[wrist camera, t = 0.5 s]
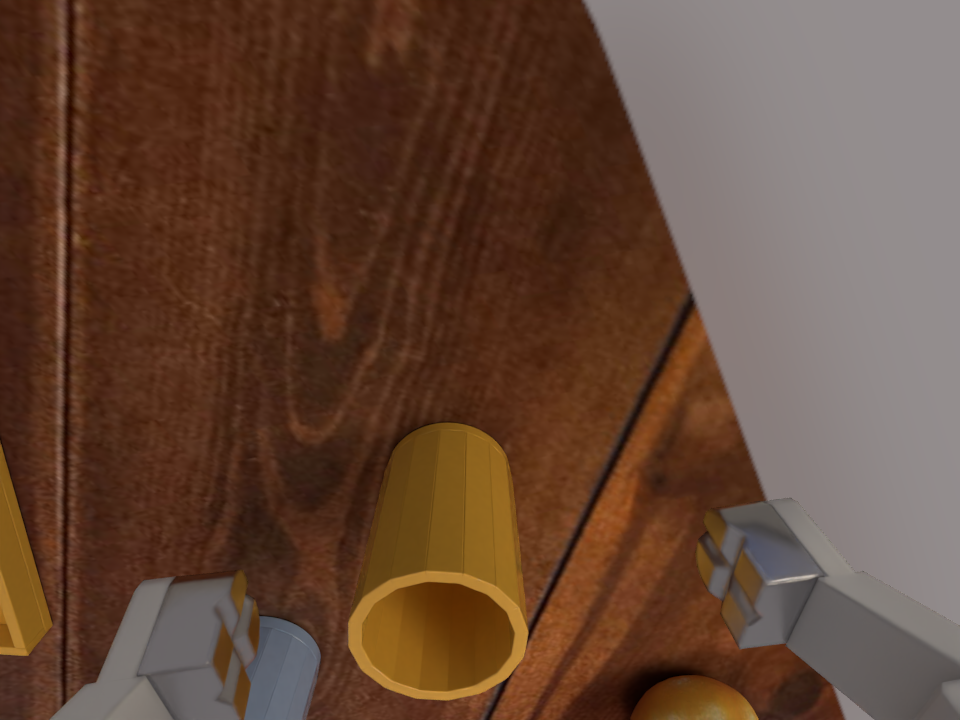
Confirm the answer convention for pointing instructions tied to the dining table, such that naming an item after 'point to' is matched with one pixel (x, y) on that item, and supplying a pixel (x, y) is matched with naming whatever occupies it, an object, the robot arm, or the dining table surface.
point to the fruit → (692, 701)
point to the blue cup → (282, 672)
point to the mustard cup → (441, 569)
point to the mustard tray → (18, 578)
